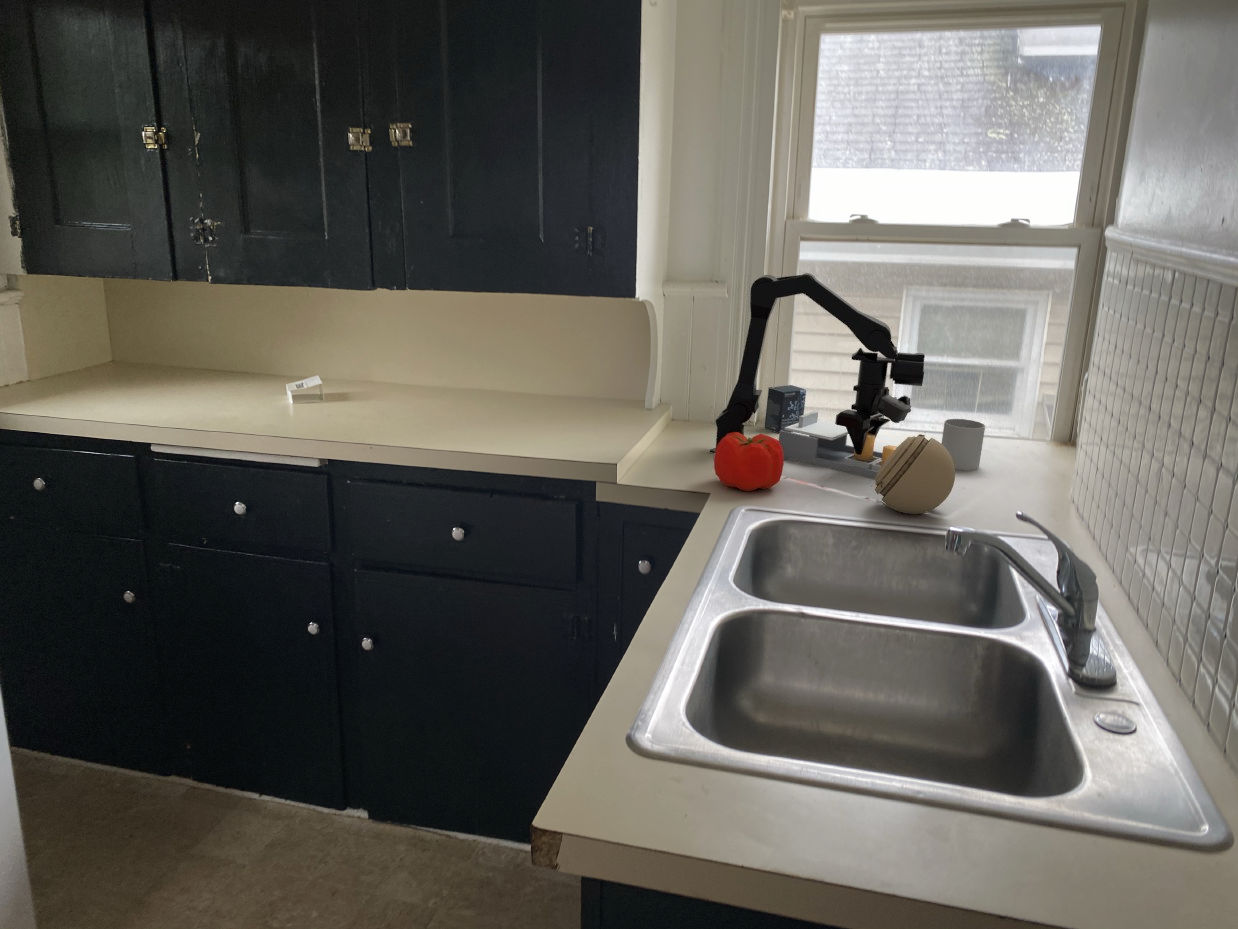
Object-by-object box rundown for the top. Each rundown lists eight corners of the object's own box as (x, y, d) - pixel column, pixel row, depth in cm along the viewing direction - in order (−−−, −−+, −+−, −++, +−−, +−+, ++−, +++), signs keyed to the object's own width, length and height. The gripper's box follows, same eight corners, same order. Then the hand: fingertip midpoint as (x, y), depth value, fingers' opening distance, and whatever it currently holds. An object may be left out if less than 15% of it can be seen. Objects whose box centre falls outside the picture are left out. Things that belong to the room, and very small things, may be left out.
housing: (888, 484, 197) (892, 455, 196) (777, 457, 213) (779, 430, 211) (917, 469, 209) (921, 442, 207) (809, 445, 224) (812, 419, 222)
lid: (832, 440, 205) (833, 426, 204) (784, 430, 212) (785, 416, 211) (858, 430, 214) (859, 417, 213) (811, 420, 221) (813, 407, 220)
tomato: (705, 490, 189) (708, 439, 186) (723, 472, 201) (726, 424, 198) (773, 501, 184) (777, 448, 181) (787, 482, 196) (792, 433, 193)
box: (779, 434, 233) (783, 391, 230) (763, 428, 238) (767, 386, 235) (803, 430, 238) (807, 388, 235) (787, 425, 242) (791, 384, 239)
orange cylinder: (894, 474, 202) (897, 452, 200) (877, 470, 204) (879, 448, 203) (902, 470, 205) (905, 448, 203) (885, 466, 207) (888, 444, 206)
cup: (980, 465, 213) (986, 422, 211) (976, 475, 206) (983, 430, 203) (940, 459, 217) (946, 416, 214) (936, 469, 210) (942, 424, 207)
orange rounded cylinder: (867, 461, 205) (870, 438, 204) (850, 457, 208) (853, 434, 206) (875, 457, 208) (878, 435, 207) (858, 453, 211) (861, 431, 209)
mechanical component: (916, 496, 191) (926, 423, 186) (966, 521, 177) (978, 443, 173) (852, 502, 186) (860, 427, 181) (898, 528, 172) (909, 448, 168)
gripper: (889, 394, 191) (879, 469, 196) (925, 382, 205) (916, 451, 210) (838, 385, 198) (830, 458, 203) (876, 373, 212) (868, 441, 217)
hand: (863, 452), depth 208 cm, fingers closed on orange rounded cylinder, 4 cm apart
